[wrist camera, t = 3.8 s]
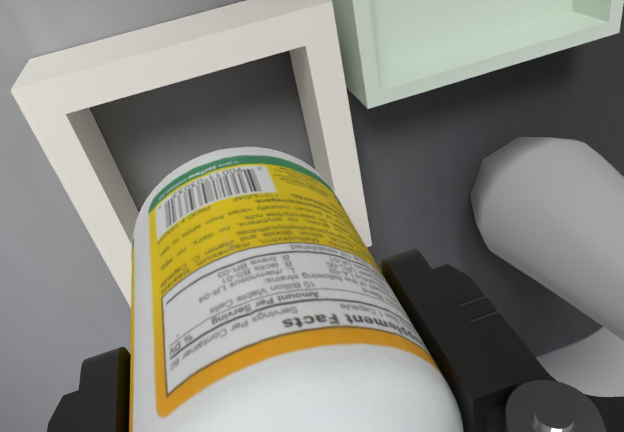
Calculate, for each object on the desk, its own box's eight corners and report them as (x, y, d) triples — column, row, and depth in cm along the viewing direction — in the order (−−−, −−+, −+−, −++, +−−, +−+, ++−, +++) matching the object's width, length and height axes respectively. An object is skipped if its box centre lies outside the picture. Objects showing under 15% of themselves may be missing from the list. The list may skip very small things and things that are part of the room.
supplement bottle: (190, 102, 11) (303, 585, 4) (374, 188, 14) (663, 577, 6) (95, 283, 13) (42, 857, 6) (274, 330, 16) (404, 765, 8)
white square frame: (29, 59, 16) (9, 90, 14) (305, -16, 17) (331, 1, 15) (139, 273, 21) (139, 323, 19) (346, 206, 22) (372, 245, 20)
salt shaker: (436, 165, 23) (696, 416, 12) (552, 92, 22) (927, 284, 12) (474, 251, 26) (705, 505, 15) (576, 189, 26) (883, 406, 15)
